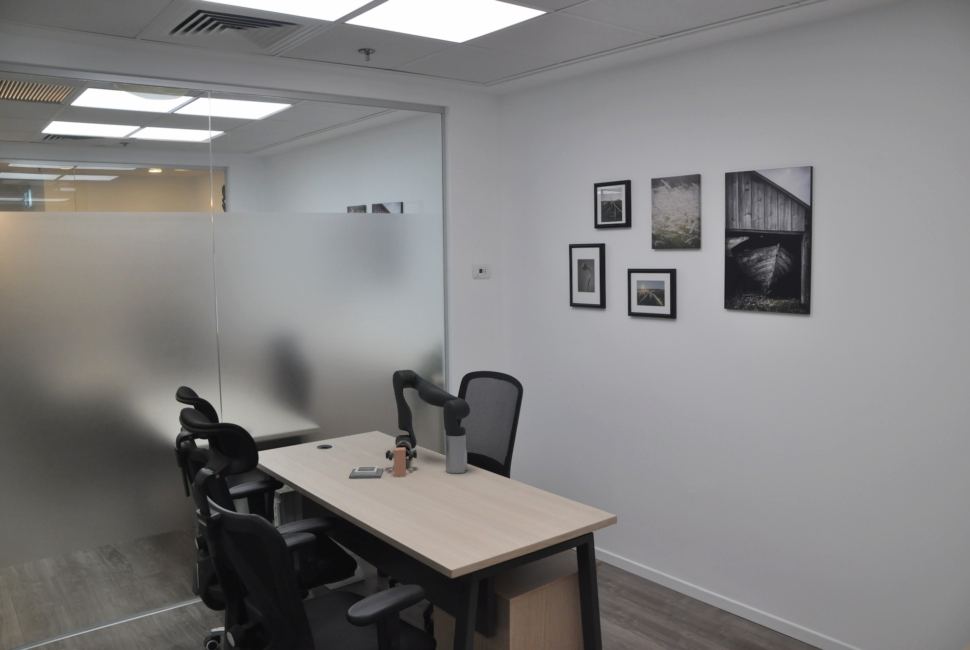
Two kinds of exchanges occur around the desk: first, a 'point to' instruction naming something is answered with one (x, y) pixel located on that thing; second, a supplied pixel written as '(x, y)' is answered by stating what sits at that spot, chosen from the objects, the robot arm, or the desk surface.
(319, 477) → the desk surface
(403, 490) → the desk surface
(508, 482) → the desk surface
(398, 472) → the column
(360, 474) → the baseplate
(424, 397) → the robot arm
